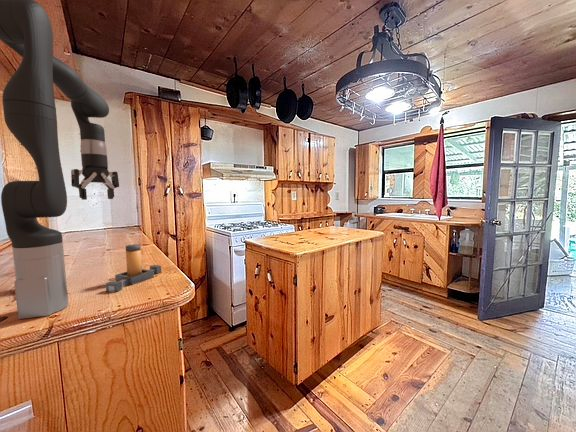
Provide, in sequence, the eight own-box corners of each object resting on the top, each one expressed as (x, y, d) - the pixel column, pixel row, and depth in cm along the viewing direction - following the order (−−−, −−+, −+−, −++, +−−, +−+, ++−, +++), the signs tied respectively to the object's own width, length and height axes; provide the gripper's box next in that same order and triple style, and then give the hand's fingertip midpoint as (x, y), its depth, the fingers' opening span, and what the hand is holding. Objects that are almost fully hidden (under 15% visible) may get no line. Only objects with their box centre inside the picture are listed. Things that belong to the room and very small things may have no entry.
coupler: (140, 281, 88) (138, 246, 87) (125, 282, 87) (123, 247, 86) (143, 277, 92) (141, 244, 91) (129, 278, 91) (127, 244, 90)
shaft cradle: (113, 293, 77) (112, 284, 77) (93, 289, 81) (93, 281, 81) (168, 273, 96) (168, 266, 96) (150, 270, 100) (150, 264, 99)
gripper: (75, 150, 84) (80, 199, 86) (120, 155, 97) (124, 198, 98) (64, 152, 88) (69, 200, 89) (109, 157, 100) (113, 198, 102)
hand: (97, 199), depth 94 cm, fingers open, 8 cm apart
